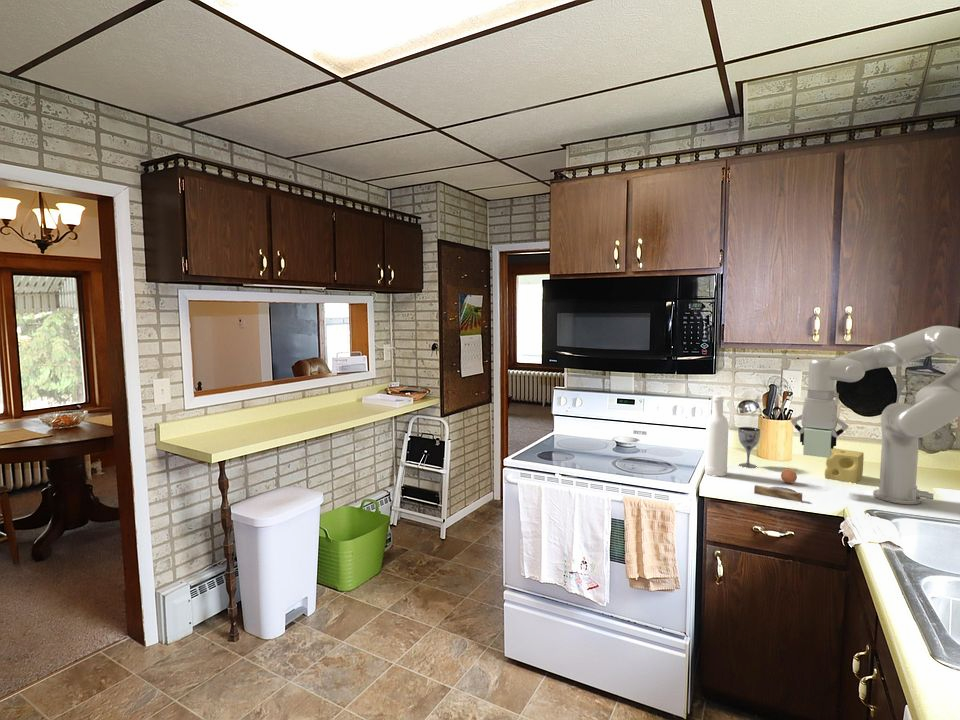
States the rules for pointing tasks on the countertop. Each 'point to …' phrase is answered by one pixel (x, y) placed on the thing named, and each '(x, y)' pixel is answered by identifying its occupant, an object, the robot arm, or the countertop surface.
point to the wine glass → (748, 442)
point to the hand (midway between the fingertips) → (817, 445)
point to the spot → (783, 488)
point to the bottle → (716, 440)
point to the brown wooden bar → (778, 493)
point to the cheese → (844, 465)
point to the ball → (788, 476)
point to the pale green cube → (817, 442)
